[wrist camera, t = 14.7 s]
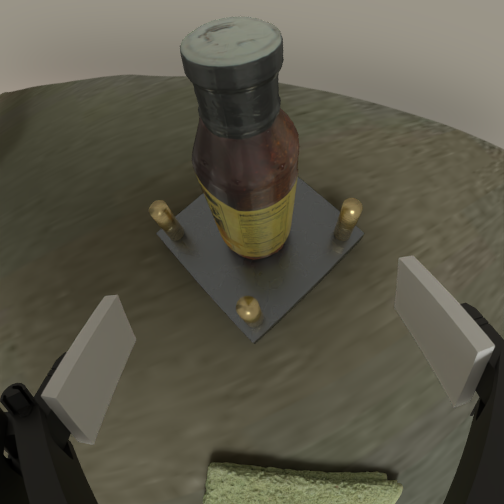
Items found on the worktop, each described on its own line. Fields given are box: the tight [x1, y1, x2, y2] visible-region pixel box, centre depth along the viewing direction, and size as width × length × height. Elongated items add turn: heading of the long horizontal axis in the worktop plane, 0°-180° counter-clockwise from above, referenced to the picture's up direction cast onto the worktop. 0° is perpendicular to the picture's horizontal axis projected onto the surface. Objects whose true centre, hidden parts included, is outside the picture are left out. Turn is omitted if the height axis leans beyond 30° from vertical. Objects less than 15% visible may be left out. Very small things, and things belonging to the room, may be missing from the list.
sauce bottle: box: [180, 17, 299, 260], centre depth 19 cm, size 7×6×20 cm
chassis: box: [149, 177, 364, 344], centre depth 27 cm, size 14×14×6 cm
